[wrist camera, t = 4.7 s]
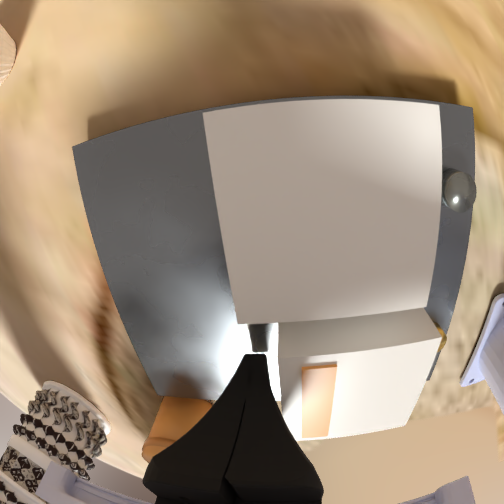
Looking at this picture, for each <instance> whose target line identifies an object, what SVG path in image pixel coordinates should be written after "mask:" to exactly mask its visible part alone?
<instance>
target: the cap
mask: <svg viewBox="0 0 504 504" xmlns="http://www.w3.org/2000/svg"><path fill="white" fill-rule="evenodd" d="M211 407H212V404H210V403H209V402H208V401H206V400H205V399H191V398H180V397H170V396H164V398H163V400H162V403H161V406H160V408H159V411H158V413H157V416H156V418H155V421H154V423H153V426H152V429H151V431H150V434H149V436H148V439H146V440H145V442H144V445H143V448H142V451H143V452H142V457H143V458H144V460H146V461H147V462H148V463H150V461H151V459H152V457H153V456H155V455H156V454H158V453H159V452H161V451H163V450H164V449H166V448H167V447H169V446H170V445H172V444H173V443H174V442H176V441H177V440H178V439H179V438H181V437H182V436H183V435H184V434H186V433H187V432H188V431H189V430H190V429H191V428H192V427H193V426H194V425H195V424H196V423H197V422H198V421H199V420H200V419H201V418H202V417H203V416H204V415H205V414H206V413H207V412H208V411H209V410H210V408H211Z"/></svg>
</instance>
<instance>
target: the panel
mask: <svg viewBox="0 0 504 504" xmlns="http://www.w3.org/2000/svg"><path fill="white" fill-rule="evenodd" d="M321 99H374V100H394V101H407V102H418V103H427V104H435V105H439V110H440V122H441V139H442V193H441V211H440V223H439V233H438V242H437V250H436V257H435V264H434V270H433V276H432V282H431V287H430V292H429V297H428V302H427V306H426V307H423V308H424V309H425V311H426V312H427V314H428V315H429V317H430V318H431V320H432V321H433V323H434V325H435V326H436V328H437V329H438V331H439V333H440V334H441V336H442V339H441V342H440V345H439V348H438V351H437V354H436V356H435V359H434V362H433V364H432V367H431V370H430V372H429V375H428V377H427V379H426V381H428V380H430V377H431V375H432V372H433V370H434V368H435V365H436V362H437V360H438V357H439V354H440V352H441V349H442V348H443V347H444V345H445V343H446V340H447V337H446V334H447V331H448V328H449V325H450V322H451V318H452V315H453V311H454V308H455V304H456V300H457V296H458V292H459V288H460V284H461V279H462V275H463V270H464V265H465V260H466V254H467V248H468V242H469V235H470V228H471V219H472V210H473V203H474V201H475V198H476V185H475V182H474V180H475V136H474V119H473V108H472V107H467V106H461V105H455V104H449V103H443V102H436V101H428V100H419V99H409V98H397V97H380V96H312V97H295V98H282V99H271V100H262V101H253V102H245V103H238V104H231V105H225V106H219V107H213V108H208V109H202V110H197V111H192V112H187V113H183V114H178V115H174V116H170V117H165V118H161V119H157V120H154V121H150V122H146V123H142V124H139V125H135V126H132V127H128V128H125V129H122V130H119V131H115V132H112V133H109V134H106V135H103V136H100V137H97V138H94V139H92V140H89V141H86V142H83V143H81V144H78V145H75V146H73V147H72V148H73V154H74V160H75V165H76V171H77V176H78V181H79V185H80V190H81V194H82V199H83V203H84V207H85V211H86V215H87V219H88V223H89V226H90V230H91V233H92V237H93V240H94V244H95V247H96V250H97V253H98V257H99V260H100V263H101V266H102V269H103V272H104V275H105V277H106V280H107V283H108V286H109V289H110V291H111V294H112V297H113V299H114V302H115V304H116V307H117V309H118V312H119V314H120V317H121V319H122V322H123V324H124V326H125V329H126V331H127V333H128V336H129V338H130V340H131V342H132V345H133V347H134V349H135V351H136V353H137V355H138V357H139V359H140V361H141V364H142V366H143V368H144V370H145V372H146V374H147V376H148V377H149V379H150V381H151V383H152V385H153V387H154V389H155V391H156V393H157V394H158V395H161V396H170V397H180V398H191V399H205V400H217V399H218V398H219V397H220V395H221V394H222V392H223V391H224V390H225V388H226V387H227V385H228V383H229V382H230V380H231V378H232V377H233V375H234V373H235V371H236V370H237V368H238V366H239V364H240V362H241V360H242V357H243V355H245V354H257V353H265V354H266V355H267V359H268V366H269V374H270V384H271V387H272V391H273V394H274V397H275V399H276V401H279V400H281V395H280V384H279V374H278V364H277V343H278V323H263V324H238V323H237V318H236V313H235V307H234V302H233V297H232V291H231V286H230V281H229V275H228V269H227V264H226V258H225V252H224V247H223V241H222V235H221V229H220V223H219V217H218V211H217V205H216V199H215V193H214V186H213V180H212V173H211V167H210V160H209V154H208V147H207V140H206V133H205V126H204V119H203V113H204V112H210V111H215V110H221V109H228V108H234V107H241V106H249V105H257V104H265V103H275V102H287V101H301V100H321Z"/></svg>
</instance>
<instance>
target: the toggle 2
mask: <svg viewBox="0 0 504 504" xmlns="http://www.w3.org/2000/svg"><path fill="white" fill-rule="evenodd" d="M441 339H442V336H441V334H440V333H439V331H438V329H437V328H436V326H435V325H434V323H433V321H432V320H431V318H430V317H429V315H428V314H427V312H426V311H425V309H424V308H423V307H422V308H416V309H409V310H402V311H395V312H388V313H380V314H372V315H363V316H354V317H344V318H334V319H323V320H311V321H297V322H282V323H278V343H277V364H278V374H279V384H280V395H281V405H282V416H283V418H284V420H285V422H286V424H287V426H288V428H289V430H290V432H291V433H292V435H293V437H294V439H295V440H296V441H301V440H316V439H327V438H336V437H345V436H351V435H358V434H365V433H370V432H376V431H382V430H386V429H392V428H396V427H401V426H405V424H406V423H407V421H408V419H409V417H410V415H411V413H412V411H413V409H414V406H415V404H416V402H417V400H418V398H419V396H420V393H421V391H422V389H423V387H424V384H425V382H426V379H427V377H428V375H429V372H430V370H431V367H432V364H433V362H434V359H435V356H436V354H437V351H438V348H439V345H440V342H441Z"/></svg>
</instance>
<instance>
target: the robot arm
mask: <svg viewBox="0 0 504 504" xmlns="http://www.w3.org/2000/svg"><path fill="white" fill-rule="evenodd" d="M482 380H486V382H487V384H488V385H489V387H490V389H491V391H492V393H493V395H494V396H495V398H496V400H497V402H498V404H499V406H500V408H501V410H502V412H503V414H504V294H499V295H497V296H496V297H495V298H494V299H493V302H492V305H491V308H490V311H489V314H488V317H487V319H486V322H485V325H484V328H483V330H482V333H481V336H480V338H479V341H478V343H477V345H476V348H475V350H474V353H473V355H472V357H471V359H470V362H469V364H468V366H467V368H466V370H465V372H464V374H463V376H462V378H461V380H460V385H461V387H465V386H468V385H471V384H474V383H477V382H479V381H482ZM143 484H144V486H145V487H146V488H148V489H149V490H150V491H151V492H153V493H154V494H155V495H157V499H156V502H155V504H322V502H321V501H322V496H323V493H324V490H323V486H322V483H321V481H320V478H319V476H318V474H317V472H316V470H315V468H314V466H313V465H312V463H311V462H310V461H309V459H308V458H307V457H306V455H305V454H304V453H303V451H302V450H301V448H300V447H299V445H298V444H297V442H296V440H295V439H294V437H293V435H292V433H291V432H290V430H289V428H288V426H287V424H286V422H285V420H284V418H283V416H282V414H281V412H280V410H279V407H278V405H277V402H276V399H275V397H274V394H273V391H272V387H271V384H270V374H269V366H268V359H267V355H266V354H265V353H257V354H245V355H243V357H242V360H241V362H240V364H239V366H238V368H237V370H236V371H235V373H234V375H233V377H232V378H231V380H230V382H229V383H228V385H227V387H226V388H225V390H224V391H223V392H222V394H221V395H220V397H219V398H218V399H217V401H216V402H215V403H214V405H213V406H212V407H211V408H210V410H209V411H208V412H207V413H206V414H205V415H204V416H203V417H202V418H201V419H200V420H199V421H198V422H197V423H196V424H195V425H194V426H193V427H192V428H191V429H190V430H189V431H188V432H187V433H186V434H184V435H183V436H182V437H181V438H179V439H178V440H177V441H176V442H174V443H173V444H172V445H170V446H169V447H167V448H166V449H164V450H163V451H161V452H159V453H158V454H156V455H155V456H153V457H152V459H151V461H150V463H149V465H148V467H147V469H146V472H145V475H144V478H143ZM35 494H36V495H37V496H39V497H40V498H42V499H43V500H45V501H47V502H48V503H50V504H153V503H150V502H146V501H142V500H139V499H136V498H133V497H129V496H126V495H123V494H120V493H117V492H114V491H112V490H109V489H106V488H104V487H101V486H99V485H96V484H94V483H91V482H89V481H87V480H84V479H82V478H80V477H77V476H76V475H75V474H74V473H73V472H72V471H70V470H69V469H67V468H65V467H63V466H61V465H59V464H57V463H55V462H53V461H51V462H50V464H49V466H48V468H47V470H46V472H45V474H44V476H43V478H42V480H41V482H40V484H39V486H38V488H37V490H36V492H35ZM399 504H475V500H474V496H473V492H472V488H471V484H470V481H469V478H468V476H465V477H463V478H460V479H458V480H455V481H453V482H451V483H448V484H446V485H444V486H442V487H440V488H438V489H437V490H436V491H435V492H434V493H431V494H428V495H425V496H422V497H419V498H416V499H413V500H410V501H406V502H403V503H399Z"/></svg>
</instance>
